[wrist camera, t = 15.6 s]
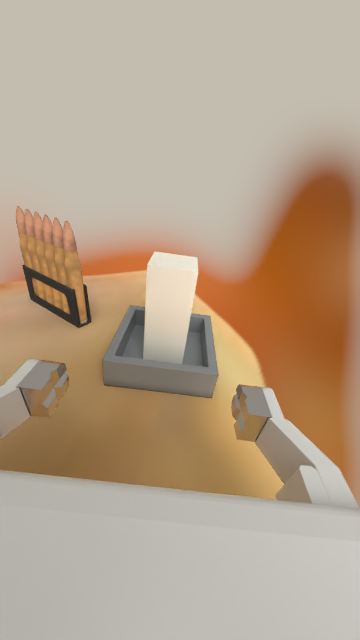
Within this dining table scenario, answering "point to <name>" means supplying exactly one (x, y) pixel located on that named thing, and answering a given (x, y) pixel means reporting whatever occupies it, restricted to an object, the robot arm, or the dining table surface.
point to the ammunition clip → (53, 267)
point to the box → (135, 372)
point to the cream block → (168, 306)
